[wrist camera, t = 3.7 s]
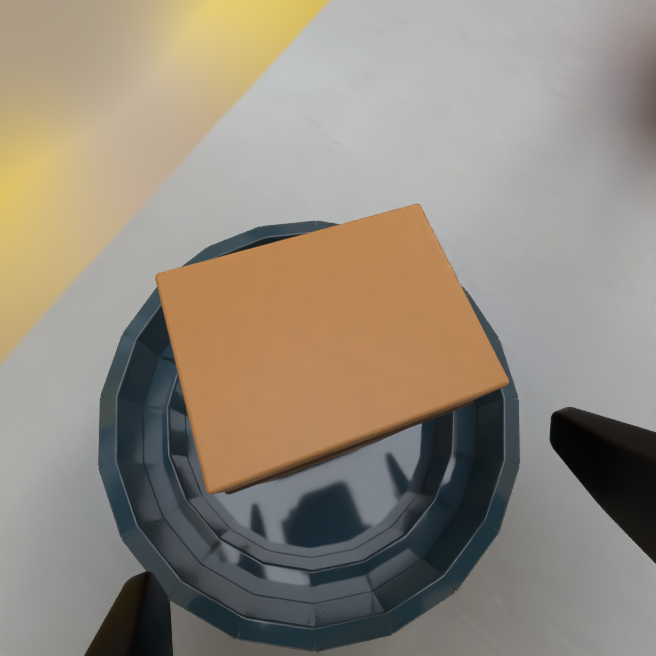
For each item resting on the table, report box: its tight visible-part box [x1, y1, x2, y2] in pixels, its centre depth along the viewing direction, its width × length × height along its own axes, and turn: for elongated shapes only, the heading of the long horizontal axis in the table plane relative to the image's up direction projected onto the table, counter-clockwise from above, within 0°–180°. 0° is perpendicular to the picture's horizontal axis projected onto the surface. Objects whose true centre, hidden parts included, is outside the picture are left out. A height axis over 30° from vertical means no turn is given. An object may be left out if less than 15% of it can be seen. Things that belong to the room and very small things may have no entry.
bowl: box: [98, 221, 520, 652], centre depth 16 cm, size 14×14×6 cm
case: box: [155, 204, 509, 495], centre depth 13 cm, size 4×6×12 cm
